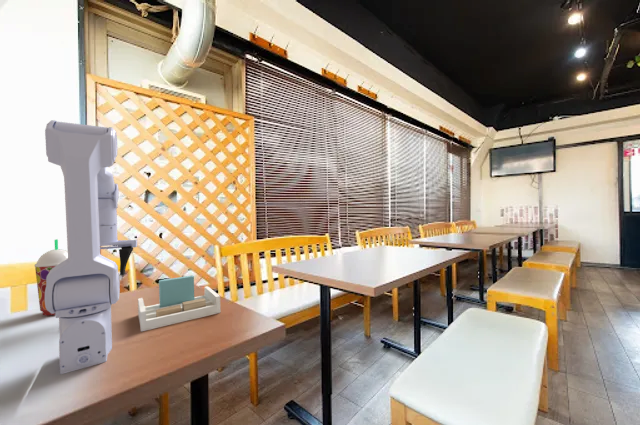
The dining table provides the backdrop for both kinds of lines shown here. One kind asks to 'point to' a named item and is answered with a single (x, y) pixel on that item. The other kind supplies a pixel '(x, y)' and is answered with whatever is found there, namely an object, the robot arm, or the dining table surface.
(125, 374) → the dining table surface
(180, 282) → the teal square slab
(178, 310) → the offcut
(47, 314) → the smoothie
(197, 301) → the offcut
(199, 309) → the rack
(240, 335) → the dining table surface
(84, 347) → the robot arm
